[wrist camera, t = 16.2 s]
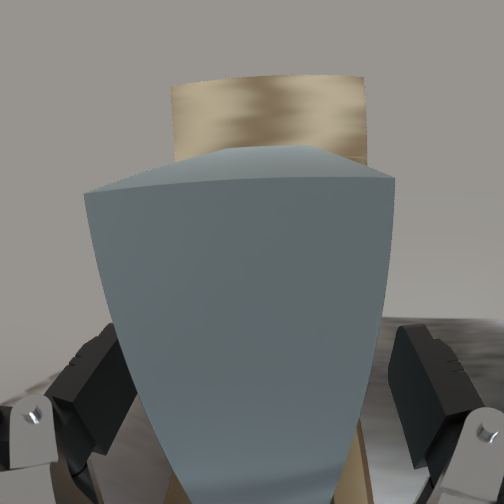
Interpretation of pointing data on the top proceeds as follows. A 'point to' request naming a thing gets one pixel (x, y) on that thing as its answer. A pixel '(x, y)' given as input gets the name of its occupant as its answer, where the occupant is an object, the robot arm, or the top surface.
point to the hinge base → (278, 134)
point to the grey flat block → (249, 312)
